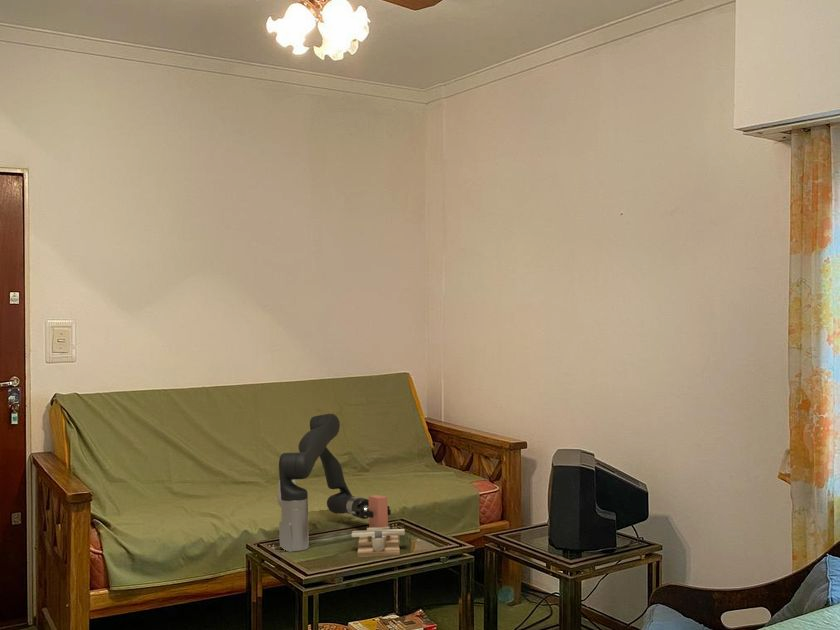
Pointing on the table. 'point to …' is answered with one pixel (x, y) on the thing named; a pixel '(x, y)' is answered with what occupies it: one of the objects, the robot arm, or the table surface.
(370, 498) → the terracotta rectangular block
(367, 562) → the table surface
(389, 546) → the jig
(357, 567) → the table surface
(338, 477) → the robot arm
